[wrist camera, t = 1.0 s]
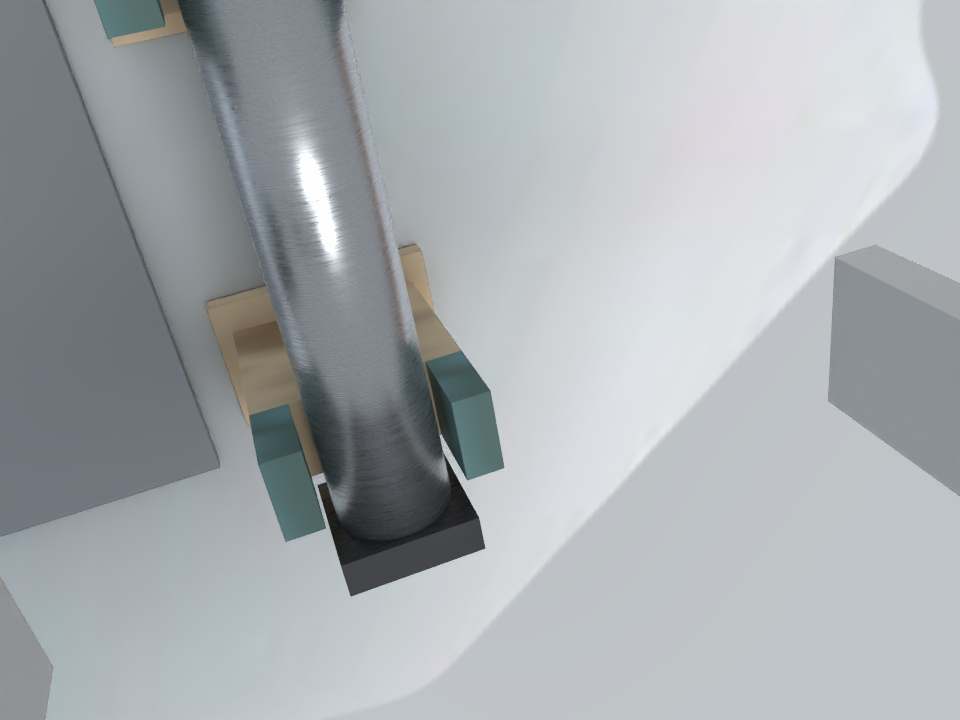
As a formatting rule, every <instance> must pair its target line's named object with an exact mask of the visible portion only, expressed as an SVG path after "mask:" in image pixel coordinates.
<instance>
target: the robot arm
mask: <svg viewBox="0 0 960 720" xmlns="http://www.w3.org/2000/svg"><path fill="white" fill-rule="evenodd" d="M829 372H830V373H829V392H828V401H829V402H830V403H831V404H833V405H834V406H836V407H837V408H838V409H840V410H841V411H843V412H844V413H845V414H847V415H848V416H849V417H851V418H852V419H854V420H855V421H856V422H858V423H859V424H860V425H862V426H863V427H865V428H866V429H868V430H869V431H870V432H872V433H873V434H874V435H876V436H877V437H878V438H880V439H881V440H883V441H884V442H885V443H887V444H888V445H890V446H891V447H892V448H894V449H895V450H897V451H898V452H900V453H901V454H902V455H903V456H905V457H906V458H908V459H909V460H910V461H912V462H913V463H915V464H916V465H917V466H919V467H920V468H921V469H923V470H924V471H926V472H927V473H928V474H930V475H931V476H933V477H934V478H935V479H937V480H938V481H939V482H941V483H942V484H943V485H945V486H946V487H948V488H949V489H950V490H952V491H953V492H955V493H956V494H957V495H959V496H960V283H959V282H956V281H954V280H952V279H950V278H948V277H945V276H943V275H941V274H938V273H937V272H934V271H932V270H930V269H928V268H926V267H923V266H921V265H919V264H917V263H915V262H912V261H910V260H908V259H906V258H904V257H901V256H899V255H897V254H895V253H892V252H890V251H888V250H886V249H884V248H881V247H879V246H877V245H873V246H870V247H867V248H864V249H860V250H857V251H854V252H850V253H847V254H844V255H841V256H837V257H835V269H834V289H833V309H832V330H831V350H830V371H829ZM52 671H53V666H52V664H51V663H50V661H49V659H48V657H47V656H46V654H45V652H44V651H43V649H42V647H41V645H40V644H39V642H38V640H37V639H36V637H35V635H34V633H33V632H32V630H31V628H30V627H29V625H28V623H27V621H26V620H25V618H24V616H23V615H22V613H21V611H20V609H19V608H18V606H17V604H16V603H15V601H14V599H13V597H12V596H11V594H10V592H9V591H8V589H7V587H6V585H5V584H4V582H3V580H2V579H1V577H0V720H45V719H46V712H47V705H48V698H49V691H50V685H51V678H52Z"/></svg>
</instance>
